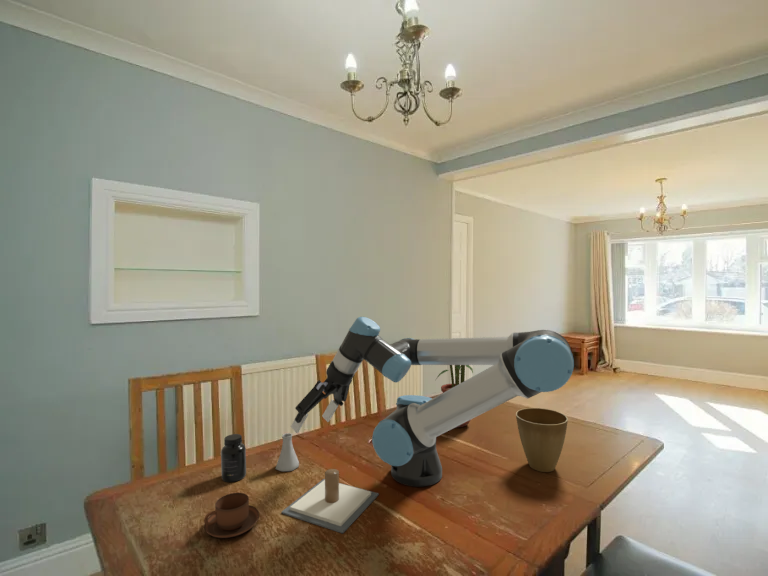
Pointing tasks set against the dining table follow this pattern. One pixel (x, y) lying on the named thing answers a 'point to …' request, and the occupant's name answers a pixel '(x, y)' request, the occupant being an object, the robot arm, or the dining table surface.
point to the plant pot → (542, 436)
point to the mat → (327, 524)
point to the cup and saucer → (231, 516)
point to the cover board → (331, 509)
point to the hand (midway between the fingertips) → (310, 424)
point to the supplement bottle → (233, 458)
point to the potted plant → (449, 386)
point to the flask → (287, 455)
